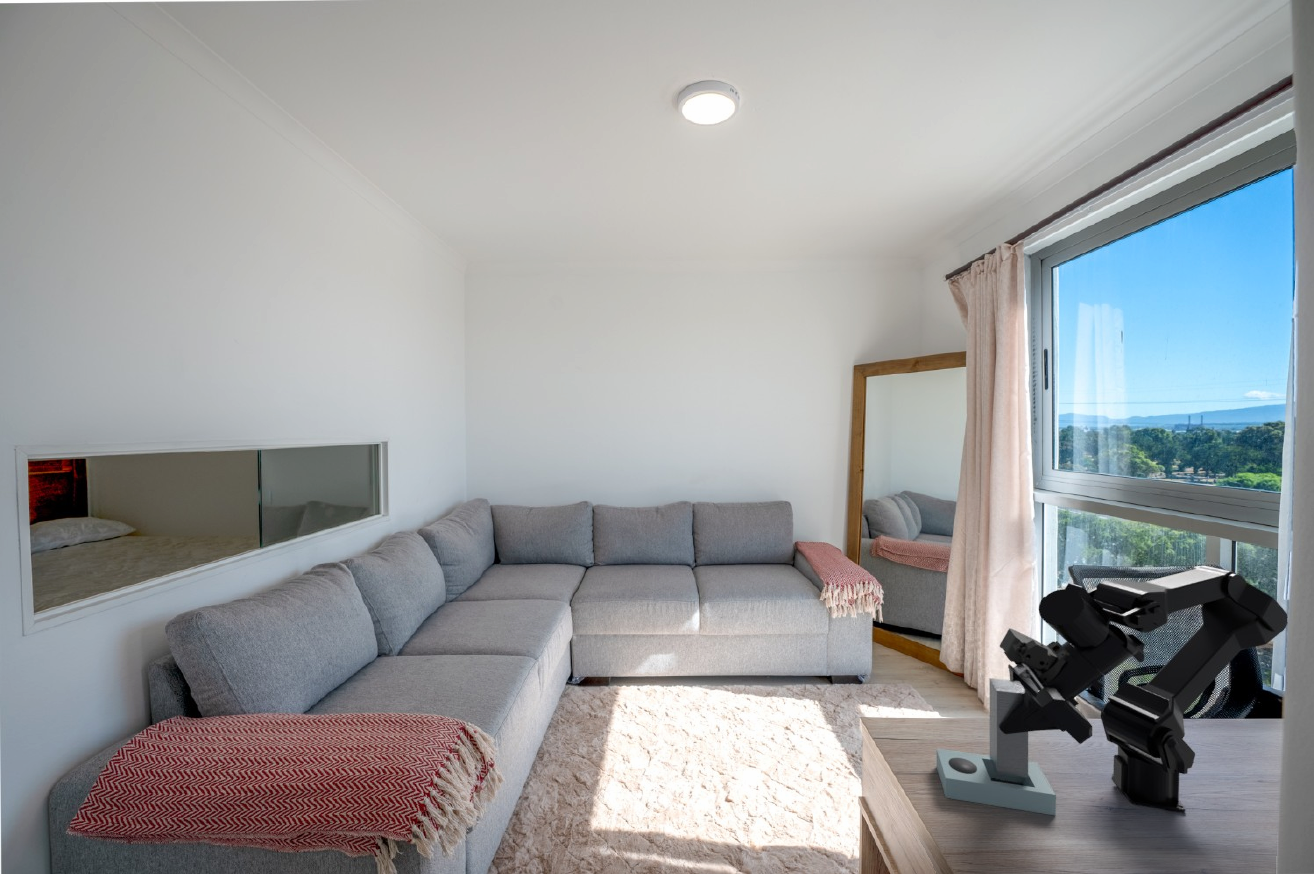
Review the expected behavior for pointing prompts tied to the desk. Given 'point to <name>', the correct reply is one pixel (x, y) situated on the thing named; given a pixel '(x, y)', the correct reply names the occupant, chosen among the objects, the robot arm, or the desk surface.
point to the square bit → (1007, 748)
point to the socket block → (993, 783)
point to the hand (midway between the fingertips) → (997, 723)
